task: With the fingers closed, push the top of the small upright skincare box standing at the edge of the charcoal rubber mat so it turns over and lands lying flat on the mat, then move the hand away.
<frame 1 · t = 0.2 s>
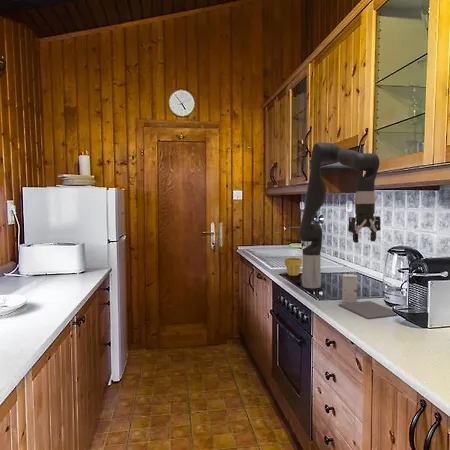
hand: (364, 241, 157), 28 cm above the countertop, tool pointing down, fingers open, 8 cm apart
skincare box: (349, 302, 171), on the countertop
mat: (368, 310, 158), on the countertop
plant pot: (293, 274, 233), on the countertop
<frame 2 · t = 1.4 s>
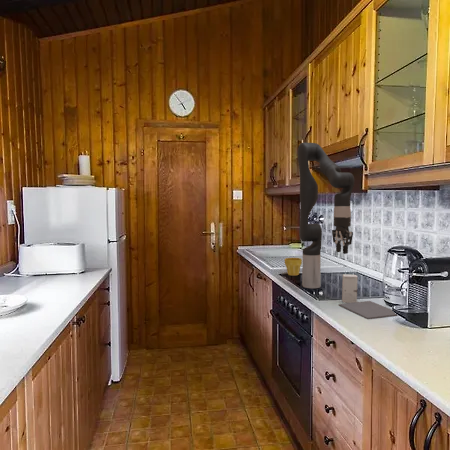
hand: (341, 252, 176), 21 cm above the countertop, tool pointing down, fingers open, 5 cm apart
nothing on the countertop moved.
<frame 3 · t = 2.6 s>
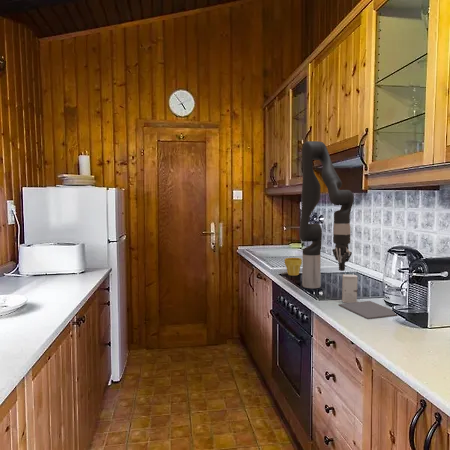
hand: (341, 270, 176), 13 cm above the countertop, tool pointing down, fingers closed
nothing on the countertop moved.
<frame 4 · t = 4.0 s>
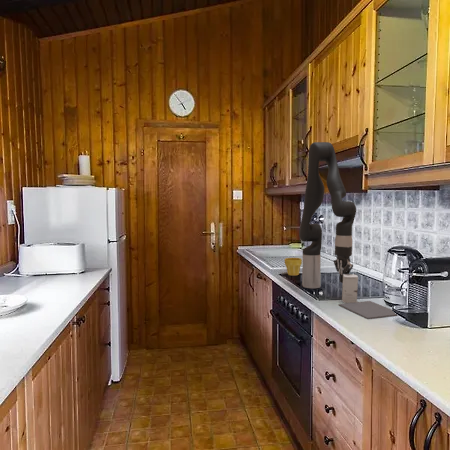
hand: (342, 282, 175), 8 cm above the countertop, tool pointing down, fingers closed
skincare box: (349, 301, 171), on the countertop, touching hand
everything else where it was.
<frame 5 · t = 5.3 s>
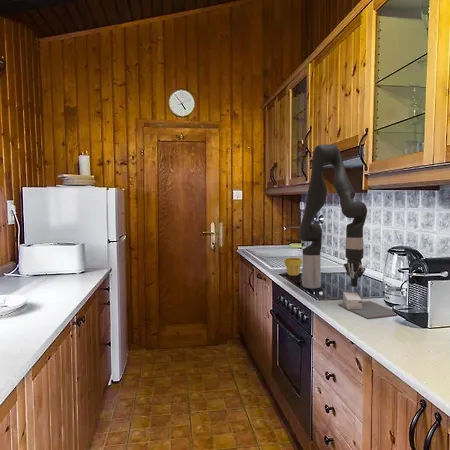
hand: (354, 286, 168), 8 cm above the countertop, tool pointing down, fingers closed
skincare box: (350, 296, 169), point 3 cm above the countertop, touching mat
everything else where it was.
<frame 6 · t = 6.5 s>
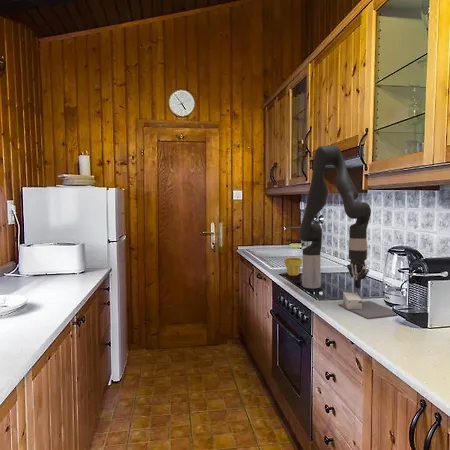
hand: (357, 288, 165), 8 cm above the countertop, tool pointing down, fingers closed
nothing on the countertop moved.
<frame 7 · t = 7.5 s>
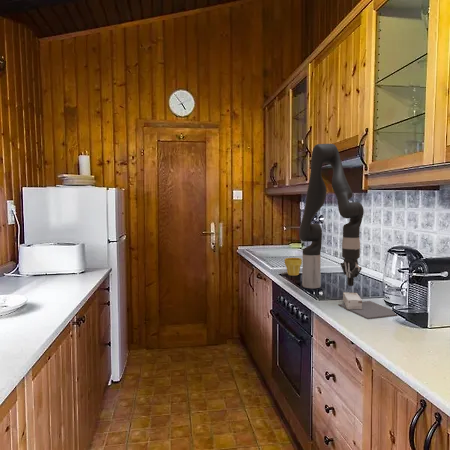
hand: (350, 285, 170), 7 cm above the countertop, tool pointing down, fingers closed
nothing on the countertop moved.
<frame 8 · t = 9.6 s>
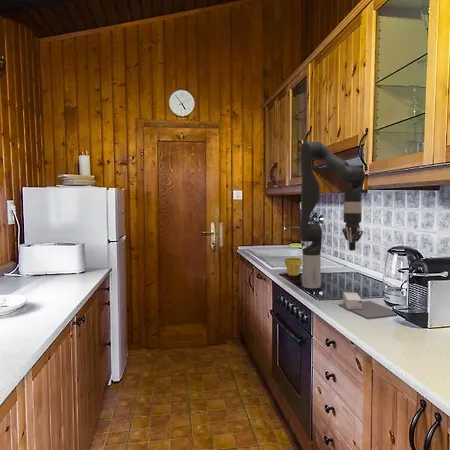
hand: (352, 250, 171), 23 cm above the countertop, tool pointing down, fingers closed
nothing on the countertop moved.
at the end: skincare box tilted 92°; skincare box inside the target area on the mat (10.7 cm from its centre), point 2.9 cm above the mat's base; the gripper is holding nothing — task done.
